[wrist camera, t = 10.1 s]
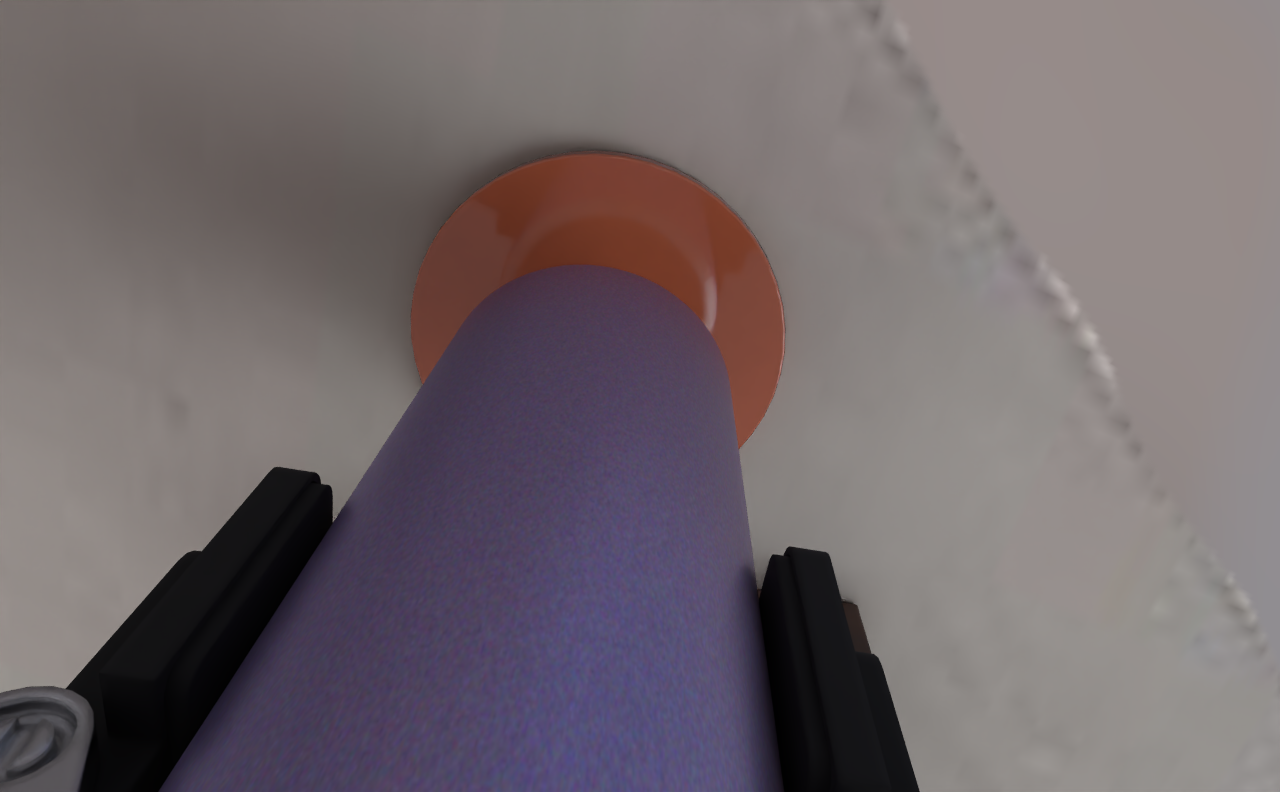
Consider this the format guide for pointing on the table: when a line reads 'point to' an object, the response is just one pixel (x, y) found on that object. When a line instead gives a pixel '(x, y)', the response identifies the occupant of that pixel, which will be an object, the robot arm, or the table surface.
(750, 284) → the coaster
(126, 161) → the table surface
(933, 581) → the table surface
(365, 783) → the beverage can
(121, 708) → the robot arm
